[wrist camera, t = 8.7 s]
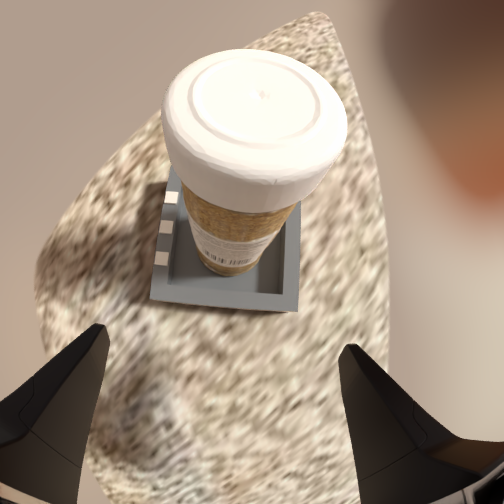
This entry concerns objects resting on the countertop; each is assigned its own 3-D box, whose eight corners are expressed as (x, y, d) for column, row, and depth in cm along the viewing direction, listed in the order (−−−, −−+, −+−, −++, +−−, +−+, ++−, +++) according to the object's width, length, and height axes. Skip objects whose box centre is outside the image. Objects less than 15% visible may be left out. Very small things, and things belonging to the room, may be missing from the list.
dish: (288, 312, 19) (298, 311, 16) (157, 300, 18) (148, 298, 15) (292, 192, 21) (301, 177, 18) (175, 180, 20) (170, 163, 17)
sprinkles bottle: (273, 232, 19) (370, 92, 6) (242, 290, 18) (313, 222, 5) (216, 200, 19) (226, 28, 6) (181, 256, 18) (116, 121, 5)
